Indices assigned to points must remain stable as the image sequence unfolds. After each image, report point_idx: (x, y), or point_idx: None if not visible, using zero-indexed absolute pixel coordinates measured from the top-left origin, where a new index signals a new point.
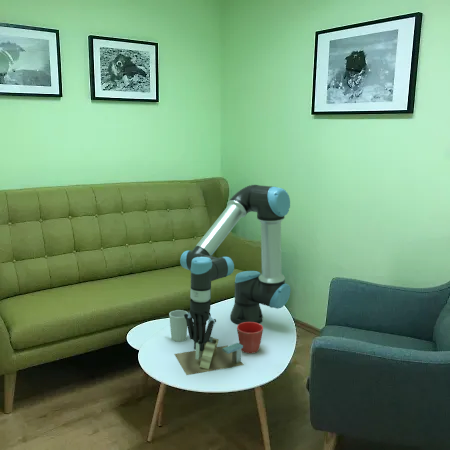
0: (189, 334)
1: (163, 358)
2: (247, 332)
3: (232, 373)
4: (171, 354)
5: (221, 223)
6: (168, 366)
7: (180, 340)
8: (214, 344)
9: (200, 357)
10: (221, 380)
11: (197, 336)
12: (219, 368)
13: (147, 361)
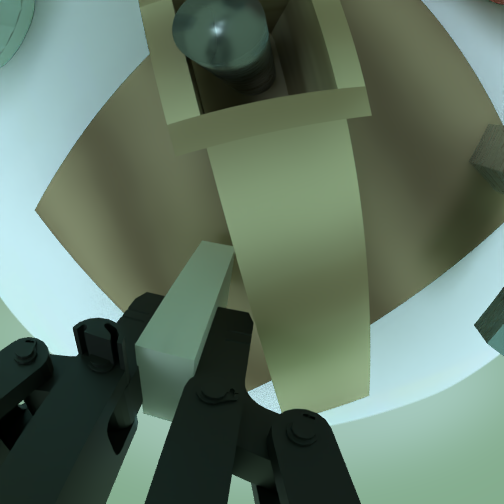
0: (15, 434)
1: (25, 249)
2: None
3: (468, 282)
4: (26, 190)
5: None
6: (87, 317)
7: (2, 47)
8: (332, 114)
9: (229, 281)
10: (413, 362)
11: (111, 461)
12: (401, 294)
13: (8, 296)
